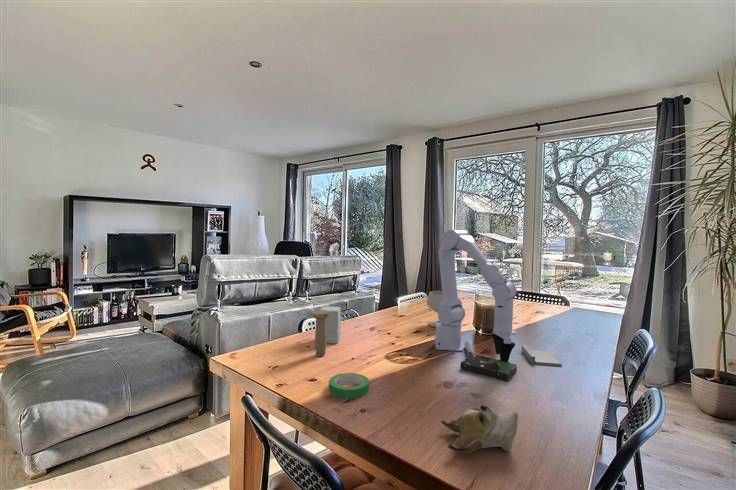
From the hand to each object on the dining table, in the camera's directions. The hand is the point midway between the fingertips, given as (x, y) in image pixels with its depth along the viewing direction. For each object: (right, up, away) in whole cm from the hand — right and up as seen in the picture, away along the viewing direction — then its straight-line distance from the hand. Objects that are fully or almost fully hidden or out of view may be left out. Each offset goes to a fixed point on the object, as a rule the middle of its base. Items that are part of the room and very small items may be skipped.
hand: (501, 358), depth 120 cm
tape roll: (-50, -2, -22) cm, 55 cm away
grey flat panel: (+5, -1, +6) cm, 8 cm away
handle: (-61, 0, +3) cm, 61 cm away
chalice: (-11, +1, +44) cm, 45 cm away
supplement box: (-60, +1, +19) cm, 63 cm away
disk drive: (-7, -2, -7) cm, 10 cm away
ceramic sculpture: (-22, -4, -46) cm, 51 cm away
